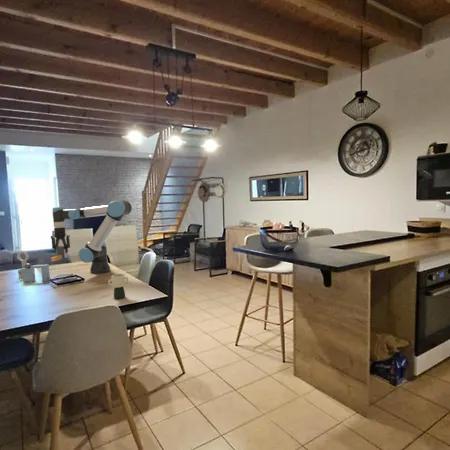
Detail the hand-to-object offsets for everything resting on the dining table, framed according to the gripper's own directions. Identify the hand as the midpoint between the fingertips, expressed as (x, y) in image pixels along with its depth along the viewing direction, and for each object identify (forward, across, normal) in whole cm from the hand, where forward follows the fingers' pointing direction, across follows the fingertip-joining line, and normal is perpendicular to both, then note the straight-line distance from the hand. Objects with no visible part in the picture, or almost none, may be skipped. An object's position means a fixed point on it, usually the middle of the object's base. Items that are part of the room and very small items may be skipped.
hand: (62, 257), depth 248 cm
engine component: (+15, +31, -4) cm, 35 cm away
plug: (0, 0, +6) cm, 6 cm away
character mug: (+15, -62, +69) cm, 94 cm away
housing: (+14, +14, +13) cm, 24 cm away
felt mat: (+14, 0, +3) cm, 15 cm away
